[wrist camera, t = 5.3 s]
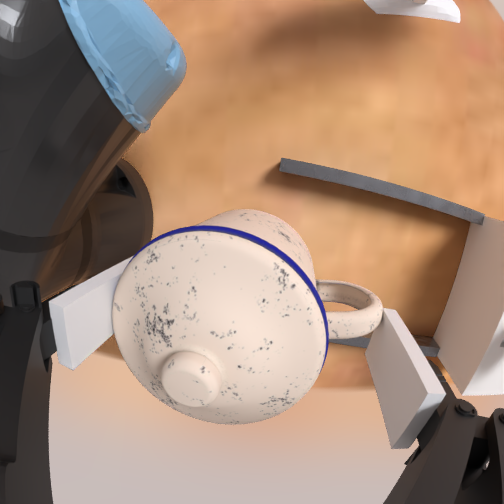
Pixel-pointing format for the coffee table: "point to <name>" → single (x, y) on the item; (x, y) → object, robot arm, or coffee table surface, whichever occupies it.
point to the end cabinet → (476, 314)
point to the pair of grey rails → (390, 190)
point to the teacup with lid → (232, 317)
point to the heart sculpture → (417, 8)
